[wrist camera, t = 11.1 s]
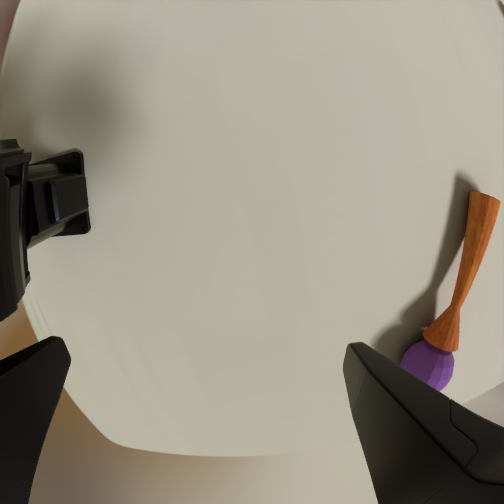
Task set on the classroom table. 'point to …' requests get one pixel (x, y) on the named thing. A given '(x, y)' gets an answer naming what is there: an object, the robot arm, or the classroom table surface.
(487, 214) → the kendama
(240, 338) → the classroom table surface
